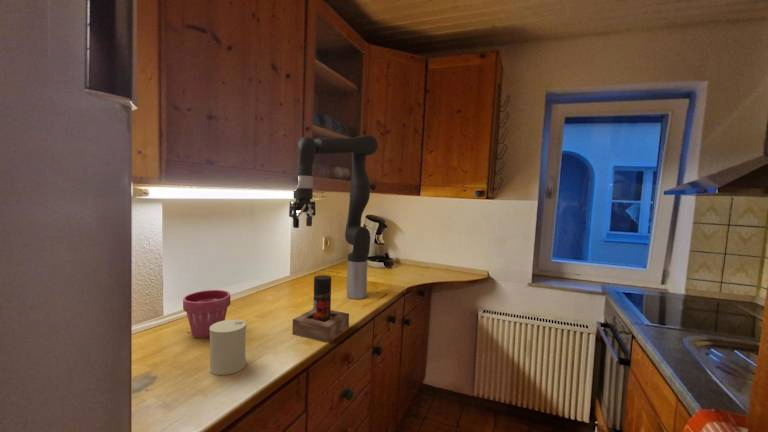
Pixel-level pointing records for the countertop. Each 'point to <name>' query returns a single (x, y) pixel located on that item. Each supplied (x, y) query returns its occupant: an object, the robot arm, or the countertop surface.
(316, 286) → the deodorant
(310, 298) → the countertop surface
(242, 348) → the can
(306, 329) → the plinth
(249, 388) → the countertop surface
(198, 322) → the plant pot
